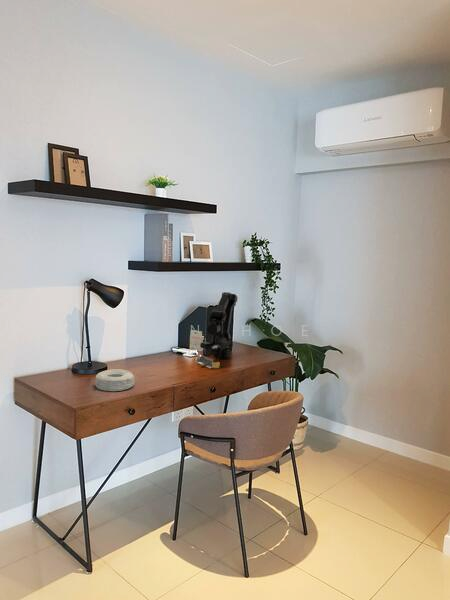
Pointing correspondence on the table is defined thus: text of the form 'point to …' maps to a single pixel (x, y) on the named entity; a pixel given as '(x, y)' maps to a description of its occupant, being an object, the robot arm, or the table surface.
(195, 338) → the ink cartridge box
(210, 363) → the swing arm
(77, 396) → the table surface
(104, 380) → the grey stone ring
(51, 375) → the table surface
